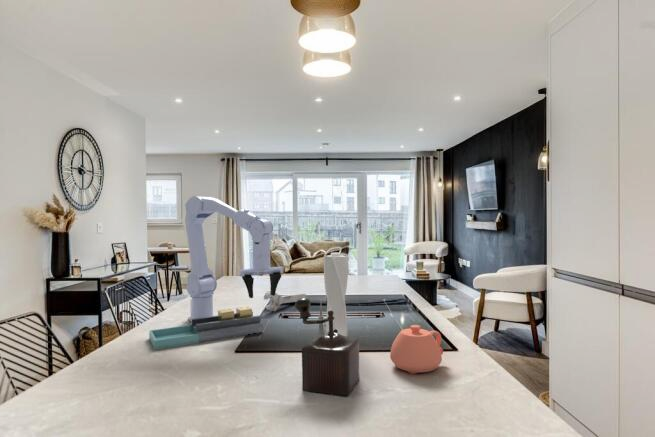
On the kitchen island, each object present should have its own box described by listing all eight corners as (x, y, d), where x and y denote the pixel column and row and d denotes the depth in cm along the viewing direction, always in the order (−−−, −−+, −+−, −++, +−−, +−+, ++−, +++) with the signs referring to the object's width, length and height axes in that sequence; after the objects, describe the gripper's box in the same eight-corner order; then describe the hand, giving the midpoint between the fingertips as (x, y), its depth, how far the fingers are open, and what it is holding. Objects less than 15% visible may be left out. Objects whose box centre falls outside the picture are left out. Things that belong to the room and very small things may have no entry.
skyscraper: (327, 337, 128) (326, 246, 128) (352, 339, 126) (351, 246, 125) (317, 345, 120) (316, 248, 120) (344, 348, 118) (343, 249, 117)
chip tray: (149, 338, 127) (149, 330, 127) (189, 332, 133) (189, 324, 133) (154, 349, 117) (154, 340, 117) (198, 342, 123) (198, 334, 123)
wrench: (305, 306, 182) (266, 313, 156) (302, 306, 183) (262, 313, 156) (306, 287, 183) (267, 291, 156) (303, 287, 184) (263, 291, 157)
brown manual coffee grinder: (361, 377, 96) (361, 299, 96) (347, 398, 85) (346, 310, 85) (299, 369, 101) (298, 295, 101) (279, 388, 91) (278, 305, 90)
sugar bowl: (381, 362, 105) (381, 322, 105) (428, 355, 110) (428, 316, 110) (407, 380, 94) (407, 335, 94) (458, 371, 99) (458, 328, 99)
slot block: (189, 332, 133) (189, 317, 133) (250, 323, 143) (249, 309, 143) (198, 342, 123) (198, 326, 123) (262, 332, 133) (262, 317, 133)
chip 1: (218, 322, 134) (218, 310, 134) (230, 321, 136) (230, 308, 136) (221, 325, 130) (221, 312, 130) (234, 323, 132) (234, 311, 132)
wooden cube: (236, 320, 137) (236, 308, 137) (248, 318, 139) (248, 306, 139) (240, 322, 133) (240, 310, 133) (252, 321, 135) (252, 308, 135)
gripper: (244, 257, 131) (244, 300, 131) (286, 255, 138) (287, 296, 138) (237, 255, 137) (237, 297, 137) (278, 253, 144) (278, 292, 145)
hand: (262, 296), depth 138 cm, fingers open, 7 cm apart
